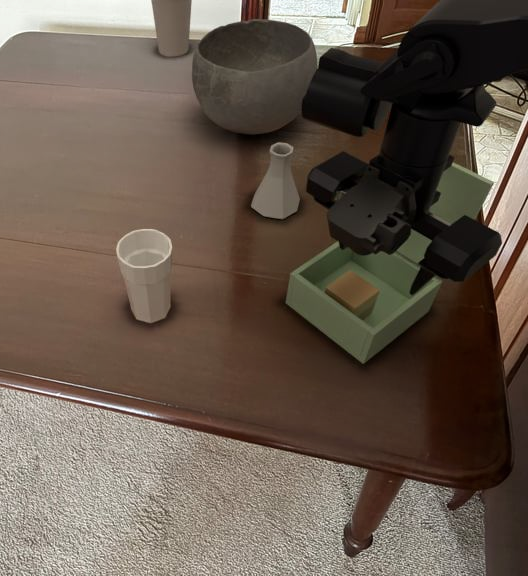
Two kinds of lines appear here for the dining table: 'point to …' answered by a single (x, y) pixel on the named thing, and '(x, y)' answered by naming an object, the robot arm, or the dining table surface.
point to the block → (354, 294)
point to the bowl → (253, 74)
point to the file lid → (451, 204)
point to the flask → (277, 186)
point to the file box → (388, 308)
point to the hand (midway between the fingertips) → (377, 269)
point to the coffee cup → (172, 26)
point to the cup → (146, 272)
